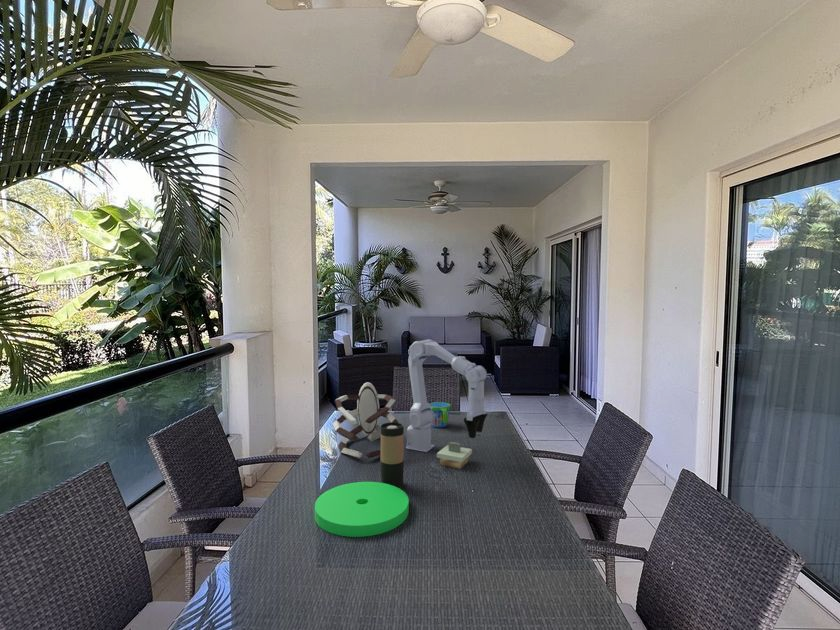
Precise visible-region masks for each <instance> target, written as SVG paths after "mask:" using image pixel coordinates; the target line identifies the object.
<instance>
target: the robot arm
mask: <svg viewBox="0 0 840 630" xmlns="http://www.w3.org/2000/svg"><path fill="white" fill-rule="evenodd" d="M408 348H409V354H408V359H407V362H408V370H409V378H410V379H409V380H410V385H411V393H412V394H411V396H412V400H413V402H412V403H413V404H412V406H411V408H410V410H409V411H410V413H409V418H408V419H409V420H408V421H409V423H410V424H409V426H408V427H407V428H406V429H407V430H406V446H405V449H407V450H410V451H411V450H412V451H418V452H423V453H424V452H425V453H427V452H429V451H430V450H431V449H433V448H434V447H436V446H435V444H432V441H431V440H432V439H431V438H432V433H431V431H432V427H431V426H432V424H431V422H432V421H433V420H434V413H433V411H432V409H431V405H430V403H429V402H428V398H427V392H426V384H425V376H424V368H423V362H424V361H425V360H426V359H427V358H428V357H430V356H436V357H437V358H439V359H441V360H442V361H445V362H446V363H448V364H450V365H451V368H452V370H454V371H455V372H457V373H459V374H460V375H462V376H463V377H465V379H466V381H467V383H468V398H467V399H468V406H467V407H468V408H467V414H466V417H464V418H463V422H464V423H465V426H466V428H467V429H466V431H467V434H468V438H470V439H476V436H477V433H482V432H483V428H484V423H485V420H486V418H487V416H488V413H487V410H485V380H486V378H487V377H488V372H487V369H485V367H484V366H482V365H477V364H476V363H475V362H471V361H469V360H468V359H466V356H463V355H462V356H461V355H459V356H458V355H457V356H455V355H454V354H452V353H451V352H450V351H448V350H447V349H445V348H444V347H442V346H441V345H440V344H439V343H438V342H437V341H434V340H432V339H430V338H428V339H424V340H416V341H413V343H412V344H411V345H410V346H409V347H408Z"/></svg>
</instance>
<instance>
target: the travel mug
mask: <svg viewBox="0 0 840 630" xmlns="http://www.w3.org/2000/svg"><path fill="white" fill-rule="evenodd" d="M380 427H381V437H380V450H381V455H380V480H381V482H380V483H385V484H389V485H392V486H395V487H397V488H399V489H402V488H403V485H404V471H405V469H404V466H405V464H404V463H405V449H404V448H405V446H404V445H405V440H404V439H405V433H404V431H405V430H404V429H405V428H404V427H405V426H404V425H403V424H402V423H400V422H399V423H394V422H392V423H391V422H386V423H385V422H384V423H382V424H381V425H380Z"/></svg>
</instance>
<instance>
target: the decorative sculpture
mask: <svg viewBox="0 0 840 630" xmlns="http://www.w3.org/2000/svg"><path fill="white" fill-rule="evenodd" d="M379 400H386V402H387V403H386V405H385V406H384V407H382V408H380V402H379ZM343 401H356V406H357V407H356V408H355V409H353V410H350V411H347V410H346V409H345V408H344V406H343V404H342V402H343ZM395 402H396V399H395V398H394V397H393V396H392V395H389V394H383V393H382V394H379V393H378V392H377V390H376V388H375V386H374V385H373V384H372V382H368V381H367V382H365V383H363V385H362V386H360V389H359V393H358V394H345V395H342V396H339V397H338V398H336V399H335V400H334V403H335V405H336V408H337V410H338V411H339V413H340V414H341V415H340V417H338V418H337V419H336V420H335V421H334V422H333V423H332V426H333V428H334V431H336V433H337V434H338V435H340V436H342V437H343V438H342V440H340V442H339V444H337V447H338V449H339V451H340V453H342V454H345V455H347V456H350V457H351V456H352V457H355V458H358V459H361V457H362V456H363V453H362V452H361V451H357V450H354V449H351V448H348V446H347V443H348V442H349V441H352V442H353V443H354V442H356V441H357V440H358V439H359V437H358V436H357V435H358V434H359V433H361V432H362V433H364V435H366V436H367V437H366V438H367V439H368V440H369V441H370V442H374V441H376V440H378V439H381V425H379V420H380V417H383V418H386V419H388V420H389V422H390V423H392V422H394V423H400V422H399V421H398V419H397V418H396V417H395V416H394V414H392V413H391V412H390V409H391V408H392V407H393V404H394V403H395ZM355 417H357V419H356V418H355ZM347 420H348V421H349V422H350V424H352V425H353V426H355V425H356V424H358V423H359V424H358V426H356V427H355V428H354V429H352V430H351V431H349V430H347V429H344V428H343V427H342V423H343V422H344V421H345V422H346V421H347ZM357 420H358V421H357ZM365 455H366V457H367V458H368V459H370V458H375V457H377V456H381V449H377V450H373V451H369V452H367V453H365Z"/></svg>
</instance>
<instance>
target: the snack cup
mask: <svg viewBox="0 0 840 630" xmlns="http://www.w3.org/2000/svg"><path fill="white" fill-rule="evenodd" d="M429 404H430V405H431V409H432V411H433V413H434V420H433V421H432V422H431V426H432V427H434V428H446V427H447V426H448V424H449V416H450V409H451V408H452V404H450V403H448V402H444V401H442V402H441V401H435V402H431V403H429Z"/></svg>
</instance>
